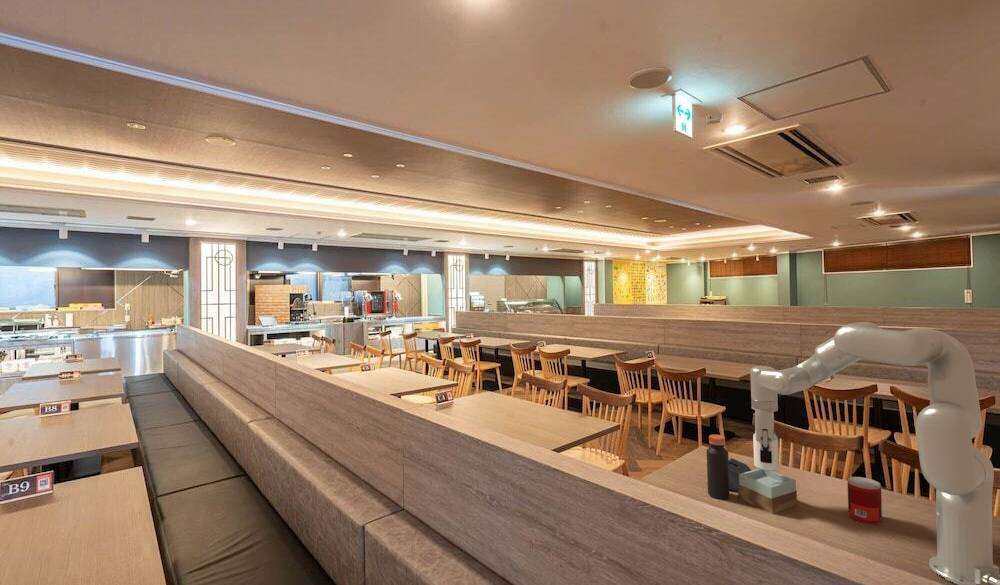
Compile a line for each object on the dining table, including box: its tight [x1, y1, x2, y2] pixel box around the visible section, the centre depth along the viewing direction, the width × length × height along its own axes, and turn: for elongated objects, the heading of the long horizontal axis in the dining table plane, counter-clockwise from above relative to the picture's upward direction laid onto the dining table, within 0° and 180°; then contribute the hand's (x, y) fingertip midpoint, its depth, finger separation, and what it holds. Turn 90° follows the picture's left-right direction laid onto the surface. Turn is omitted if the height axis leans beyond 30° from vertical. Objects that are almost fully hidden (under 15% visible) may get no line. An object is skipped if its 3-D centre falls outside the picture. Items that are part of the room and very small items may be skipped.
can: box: [752, 430, 780, 472], centre depth 152 cm, size 7×7×12 cm
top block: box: [739, 468, 797, 499], centre depth 152 cm, size 12×12×4 cm
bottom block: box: [737, 484, 798, 515], centre depth 152 cm, size 12×12×5 cm
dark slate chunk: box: [729, 458, 752, 494], centre depth 170 cm, size 15×22×5 cm
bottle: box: [706, 434, 731, 500], centre depth 158 cm, size 7×7×20 cm
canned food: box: [847, 476, 883, 525], centre depth 139 cm, size 8×8×11 cm
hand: (766, 458), depth 152 cm, fingers closed on can, 7 cm apart
